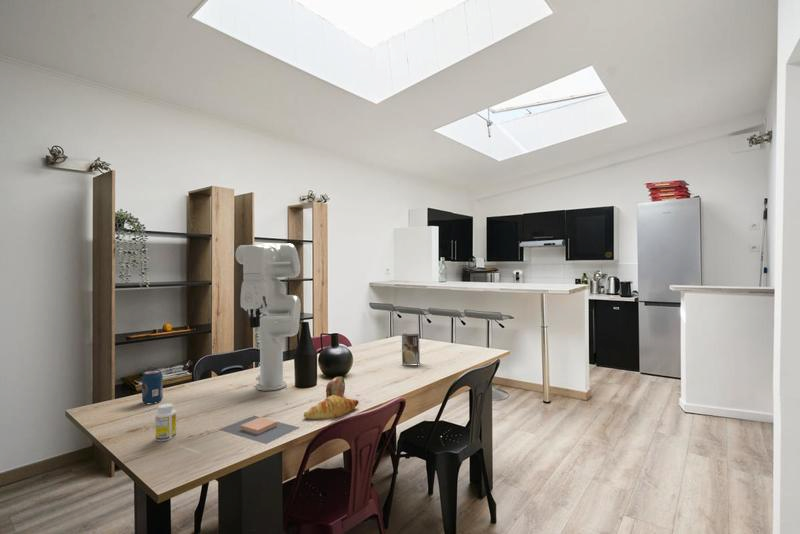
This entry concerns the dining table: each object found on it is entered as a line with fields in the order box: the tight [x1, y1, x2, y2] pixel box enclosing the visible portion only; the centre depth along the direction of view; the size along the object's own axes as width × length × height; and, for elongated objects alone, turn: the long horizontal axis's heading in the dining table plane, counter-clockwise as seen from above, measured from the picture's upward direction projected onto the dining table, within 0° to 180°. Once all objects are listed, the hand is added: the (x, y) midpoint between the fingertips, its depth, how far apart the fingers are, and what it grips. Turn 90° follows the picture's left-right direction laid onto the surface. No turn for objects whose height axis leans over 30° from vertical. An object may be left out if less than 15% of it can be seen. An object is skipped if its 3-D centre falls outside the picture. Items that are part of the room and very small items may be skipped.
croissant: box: [303, 395, 359, 420], centre depth 146 cm, size 21×10×8 cm, turn 126°
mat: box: [219, 415, 301, 445], centre depth 132 cm, size 22×14×1 cm, turn 60°
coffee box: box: [401, 333, 421, 365], centre depth 219 cm, size 9×6×16 cm
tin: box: [325, 376, 346, 398], centre depth 161 cm, size 15×3×8 cm, turn 168°
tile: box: [241, 416, 278, 435], centre depth 132 cm, size 2×8×8 cm
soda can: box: [141, 369, 164, 405], centre depth 160 cm, size 7×7×12 cm
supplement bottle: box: [154, 402, 177, 442], centre depth 126 cm, size 6×6×10 cm
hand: (255, 327), depth 152 cm, fingers closed
